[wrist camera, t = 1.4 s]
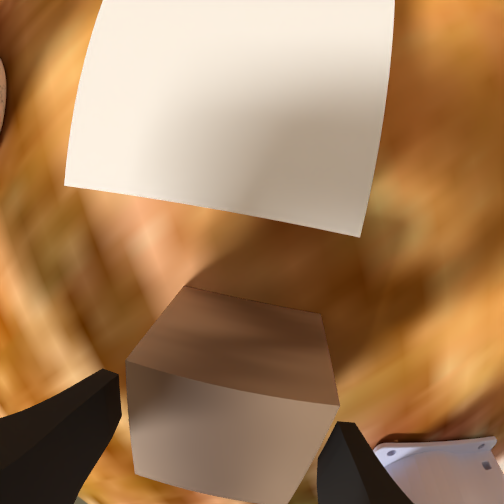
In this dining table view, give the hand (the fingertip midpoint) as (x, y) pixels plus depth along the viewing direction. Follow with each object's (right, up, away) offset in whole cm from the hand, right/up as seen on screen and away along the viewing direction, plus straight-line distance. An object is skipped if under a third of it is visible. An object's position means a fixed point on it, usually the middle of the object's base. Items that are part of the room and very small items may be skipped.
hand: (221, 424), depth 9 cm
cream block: (+1, +12, +2) cm, 12 cm away
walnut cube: (0, +1, +4) cm, 4 cm away
